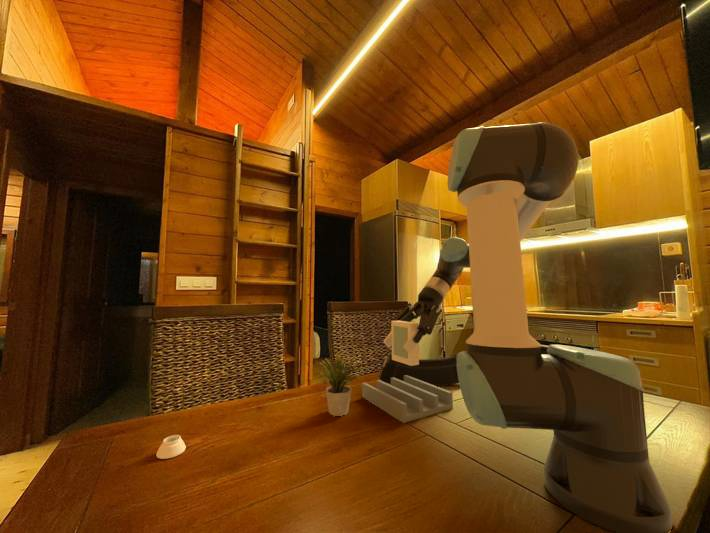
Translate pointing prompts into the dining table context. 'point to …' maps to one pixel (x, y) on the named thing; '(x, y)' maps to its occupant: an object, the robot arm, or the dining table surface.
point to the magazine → (422, 371)
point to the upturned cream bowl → (171, 447)
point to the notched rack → (408, 398)
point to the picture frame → (404, 342)
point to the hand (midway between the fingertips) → (396, 347)
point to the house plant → (339, 385)
